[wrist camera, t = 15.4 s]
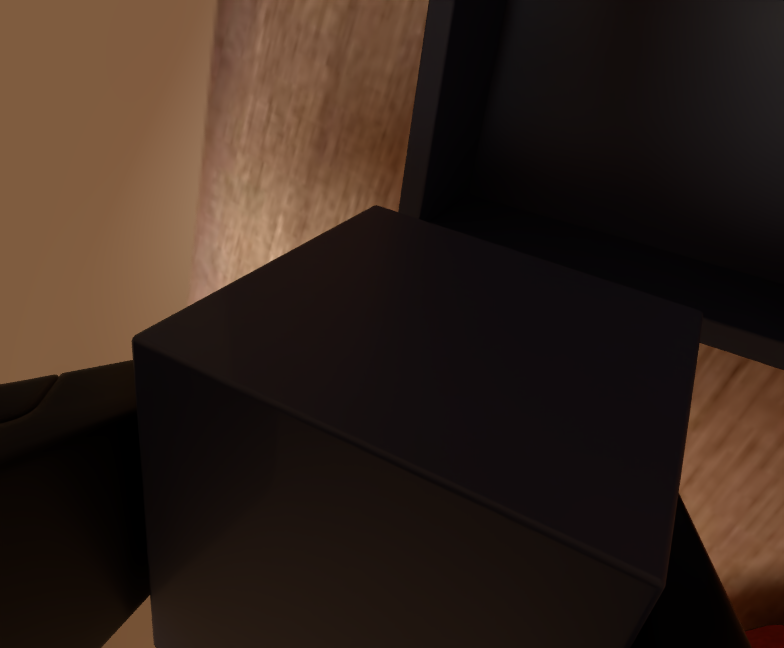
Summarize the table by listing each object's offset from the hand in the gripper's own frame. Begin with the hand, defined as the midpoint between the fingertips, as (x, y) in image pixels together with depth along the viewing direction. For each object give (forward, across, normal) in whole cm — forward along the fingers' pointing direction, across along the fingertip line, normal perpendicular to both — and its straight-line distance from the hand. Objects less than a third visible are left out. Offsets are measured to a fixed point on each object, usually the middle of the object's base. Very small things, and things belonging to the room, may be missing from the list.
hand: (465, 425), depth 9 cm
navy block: (+1, 0, 0) cm, 1 cm away
